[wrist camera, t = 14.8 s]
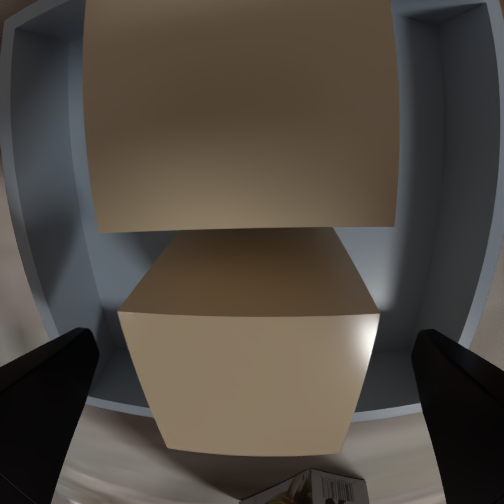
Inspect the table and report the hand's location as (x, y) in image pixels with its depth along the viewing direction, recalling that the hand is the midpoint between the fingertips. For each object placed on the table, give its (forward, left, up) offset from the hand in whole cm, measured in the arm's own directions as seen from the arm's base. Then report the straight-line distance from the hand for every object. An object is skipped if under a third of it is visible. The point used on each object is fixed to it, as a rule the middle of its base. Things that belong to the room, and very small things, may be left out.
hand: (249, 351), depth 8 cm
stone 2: (0, 0, -4) cm, 4 cm away
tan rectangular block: (+6, 0, -4) cm, 7 cm away
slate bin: (+3, 0, -4) cm, 5 cm away
